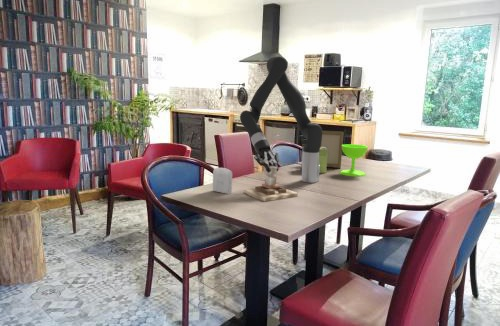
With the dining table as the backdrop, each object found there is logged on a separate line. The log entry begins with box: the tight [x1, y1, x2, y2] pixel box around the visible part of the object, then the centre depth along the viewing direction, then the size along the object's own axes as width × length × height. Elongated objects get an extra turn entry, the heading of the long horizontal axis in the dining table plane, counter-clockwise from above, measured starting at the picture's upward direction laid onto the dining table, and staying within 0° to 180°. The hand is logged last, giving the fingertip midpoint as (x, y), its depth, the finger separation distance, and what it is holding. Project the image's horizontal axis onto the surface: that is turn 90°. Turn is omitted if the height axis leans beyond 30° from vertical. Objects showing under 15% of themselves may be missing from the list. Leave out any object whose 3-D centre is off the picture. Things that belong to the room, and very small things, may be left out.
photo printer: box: [212, 167, 233, 195], centre depth 185 cm, size 10×4×12 cm, turn 60°
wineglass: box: [339, 143, 369, 178], centre depth 235 cm, size 16×16×18 cm
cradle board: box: [243, 185, 299, 203], centre depth 183 cm, size 20×18×3 cm
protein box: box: [300, 146, 328, 174], centre depth 241 cm, size 10×15×16 cm
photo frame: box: [321, 130, 344, 169], centre depth 259 cm, size 15×22×25 cm
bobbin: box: [261, 165, 280, 188], centre depth 182 cm, size 6×6×10 cm
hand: (273, 171), depth 179 cm, fingers closed on bobbin, 4 cm apart
